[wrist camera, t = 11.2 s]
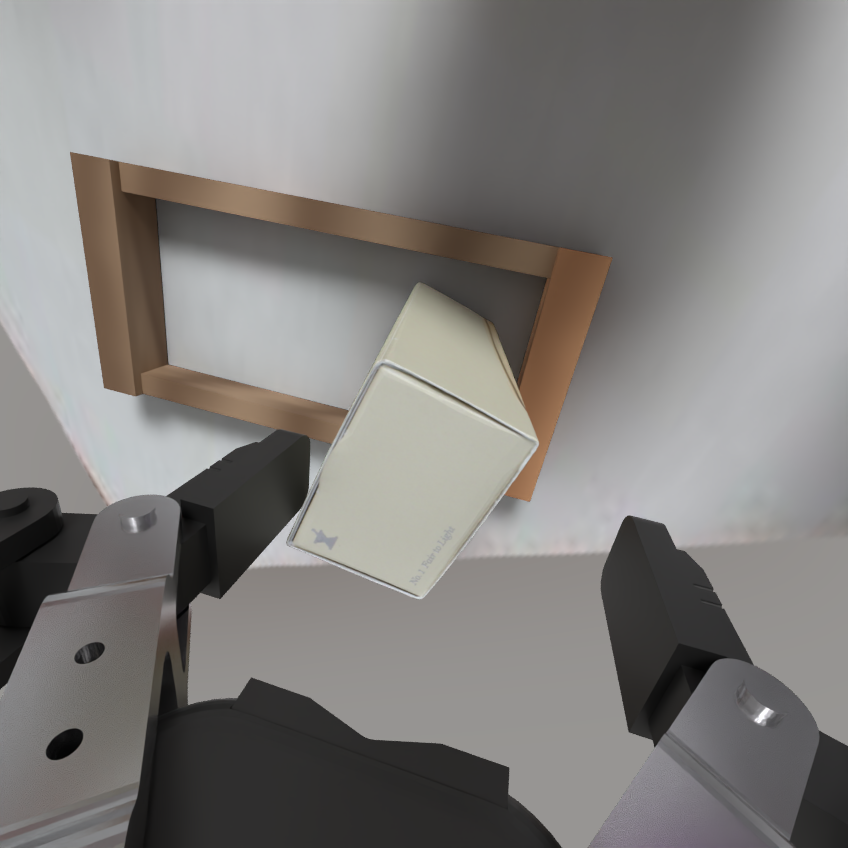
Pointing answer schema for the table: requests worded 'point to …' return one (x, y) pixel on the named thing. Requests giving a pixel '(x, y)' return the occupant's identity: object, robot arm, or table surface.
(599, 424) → the table surface
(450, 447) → the skincare box
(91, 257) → the rectangular wooden frame
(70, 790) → the robot arm
